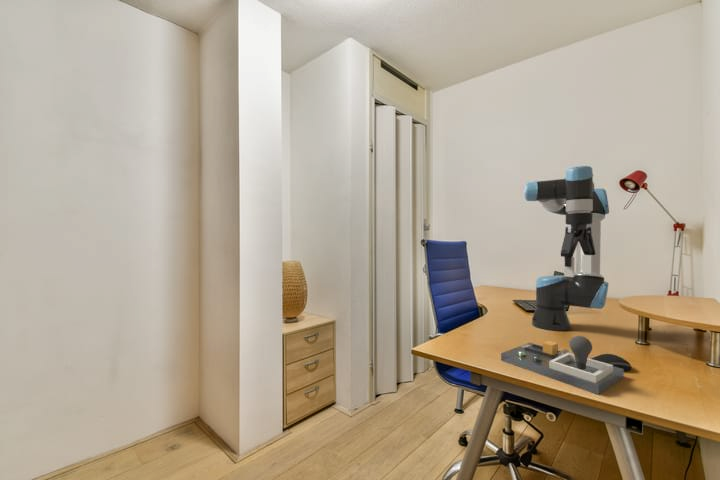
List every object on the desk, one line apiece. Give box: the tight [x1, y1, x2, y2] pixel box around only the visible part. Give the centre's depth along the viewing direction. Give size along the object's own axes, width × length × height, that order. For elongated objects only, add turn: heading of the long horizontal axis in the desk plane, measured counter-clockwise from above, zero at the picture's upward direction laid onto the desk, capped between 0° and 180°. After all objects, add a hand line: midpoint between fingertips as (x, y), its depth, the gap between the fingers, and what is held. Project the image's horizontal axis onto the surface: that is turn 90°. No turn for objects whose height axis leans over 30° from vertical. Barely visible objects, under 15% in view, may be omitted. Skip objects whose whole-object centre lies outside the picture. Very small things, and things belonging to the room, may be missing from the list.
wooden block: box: [542, 340, 559, 355], centre depth 106 cm, size 4×3×4 cm
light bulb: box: [569, 335, 593, 370], centre depth 94 cm, size 6×6×10 cm
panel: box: [500, 342, 625, 396], centre depth 101 cm, size 18×28×4 cm, turn 34°
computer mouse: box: [590, 353, 633, 373], centre depth 102 cm, size 7×12×4 cm, turn 82°
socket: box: [549, 352, 613, 383], centre depth 94 cm, size 12×12×2 cm
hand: (578, 275), depth 108 cm, fingers open, 13 cm apart
